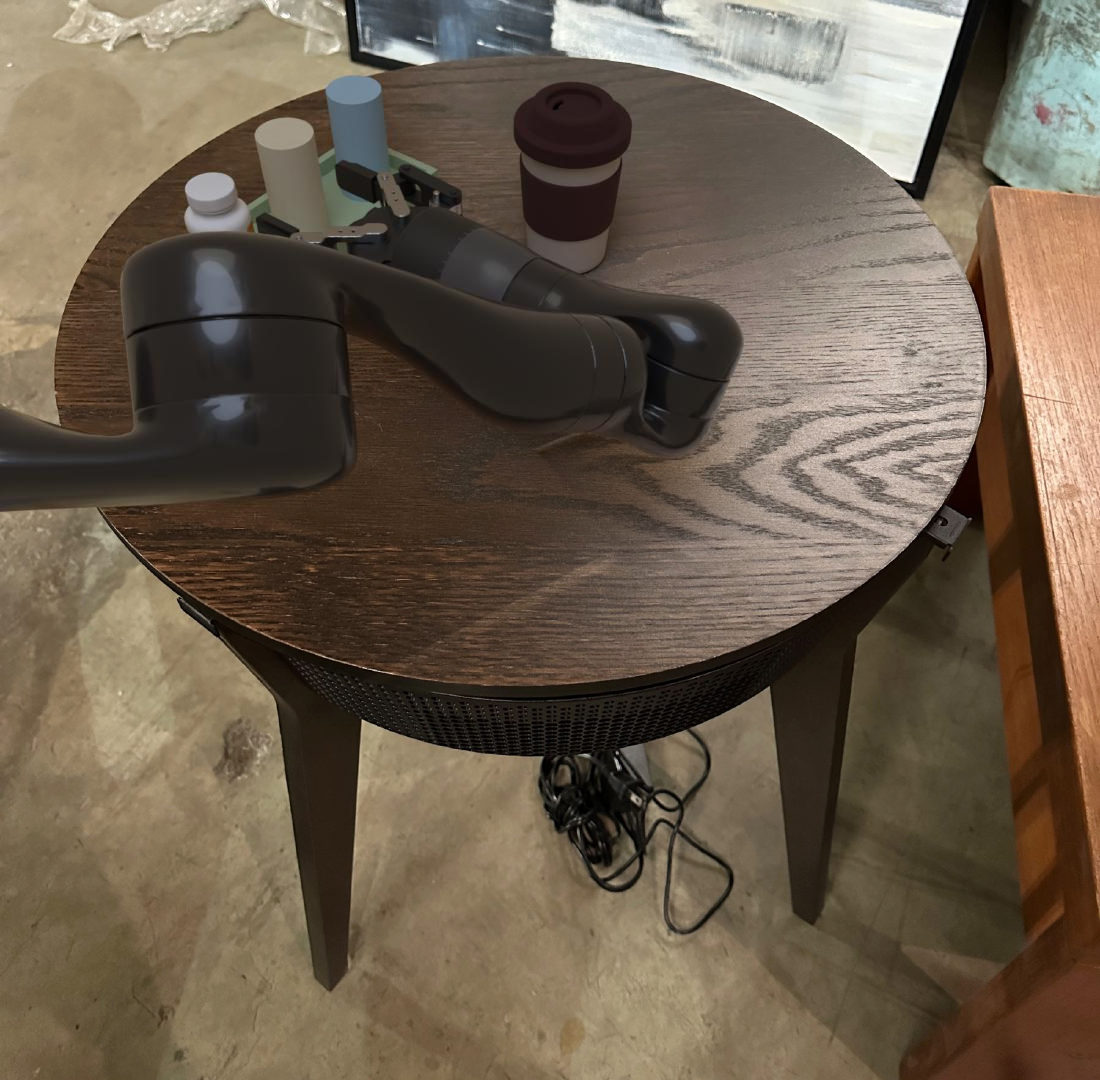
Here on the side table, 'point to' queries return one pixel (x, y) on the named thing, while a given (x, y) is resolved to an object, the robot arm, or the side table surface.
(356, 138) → the blue cylinder
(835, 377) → the side table surface
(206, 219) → the supplement bottle
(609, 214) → the coffee cup
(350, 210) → the tray
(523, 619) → the side table surface
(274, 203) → the beige upright cylinder
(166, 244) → the robot arm
